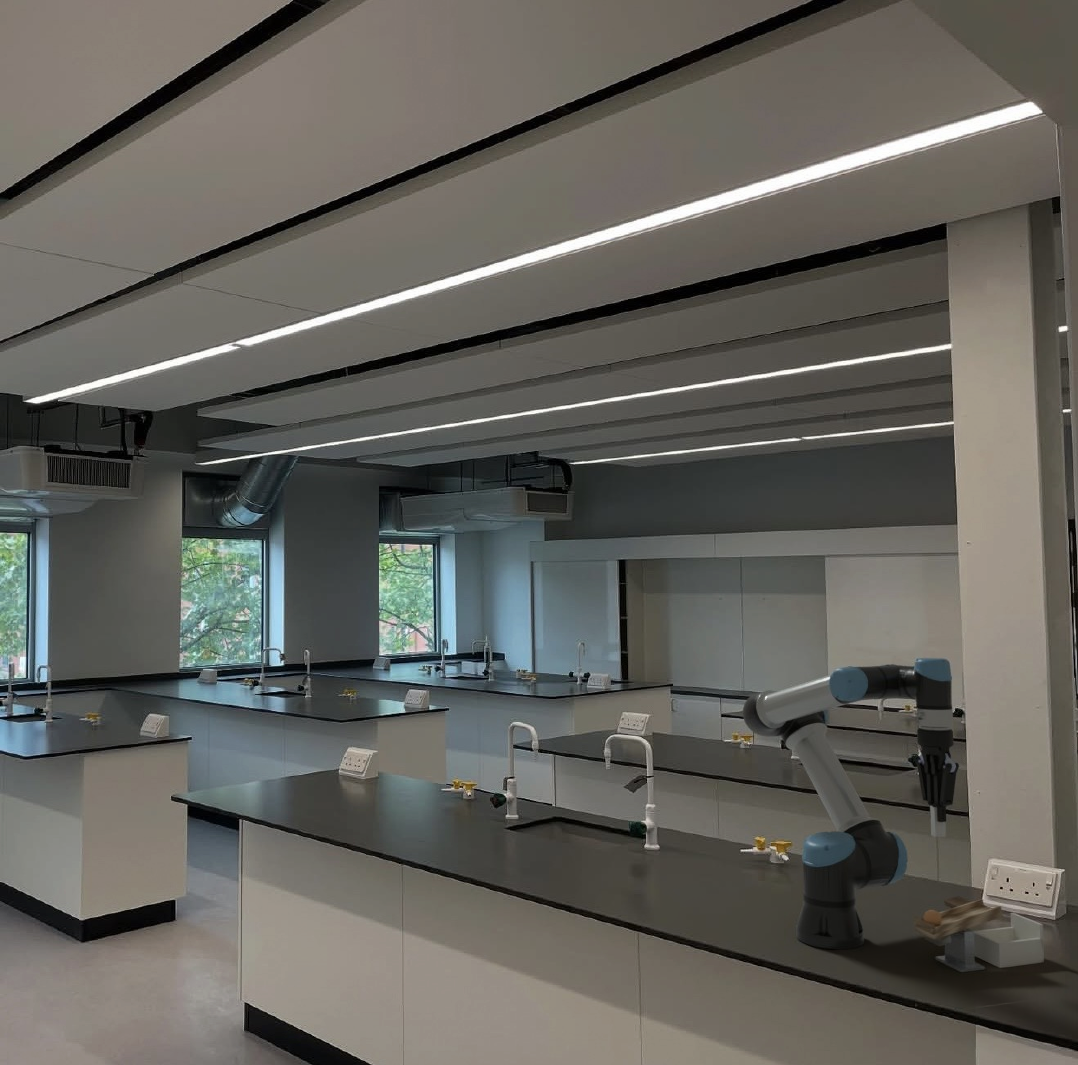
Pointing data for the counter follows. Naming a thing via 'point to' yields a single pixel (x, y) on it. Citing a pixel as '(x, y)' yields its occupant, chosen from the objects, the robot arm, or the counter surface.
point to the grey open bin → (1011, 943)
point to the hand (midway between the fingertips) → (938, 835)
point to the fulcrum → (961, 952)
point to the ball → (932, 917)
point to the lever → (956, 919)
